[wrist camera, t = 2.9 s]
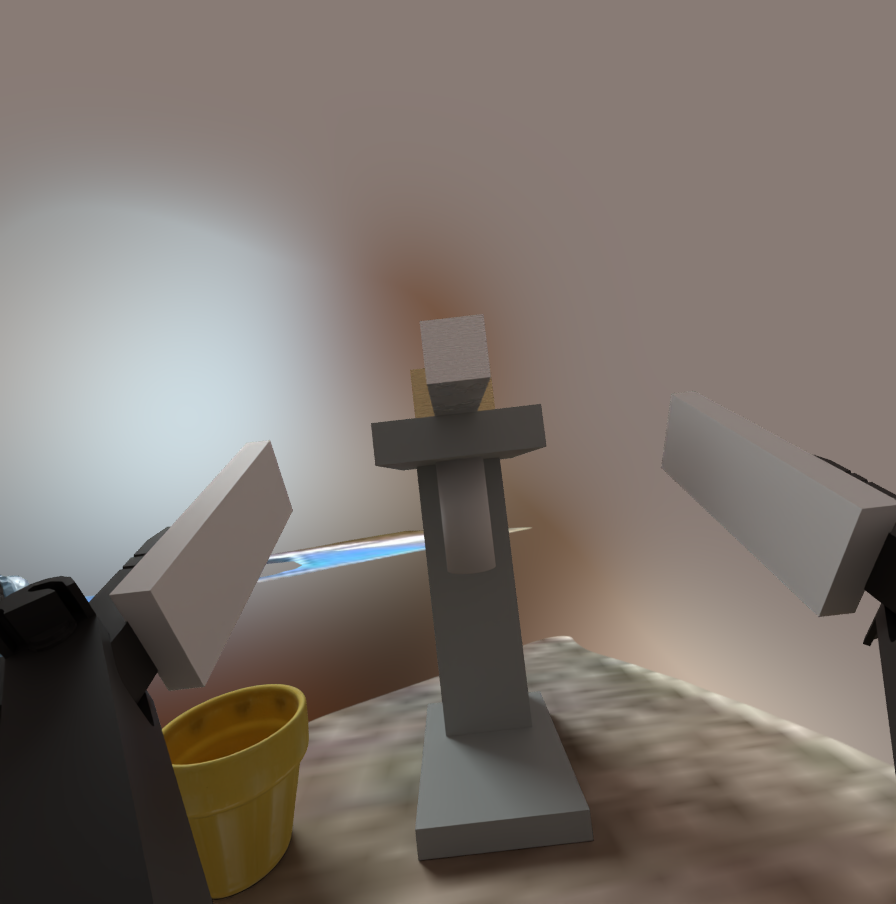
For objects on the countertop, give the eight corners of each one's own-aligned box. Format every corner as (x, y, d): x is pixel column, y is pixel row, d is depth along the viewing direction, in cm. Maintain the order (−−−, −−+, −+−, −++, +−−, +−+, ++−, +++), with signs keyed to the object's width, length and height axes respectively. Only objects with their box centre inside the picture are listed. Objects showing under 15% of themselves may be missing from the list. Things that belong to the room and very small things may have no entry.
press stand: (417, 874, 28) (371, 423, 29) (430, 723, 45) (400, 443, 46) (598, 853, 28) (541, 404, 29) (542, 710, 45) (508, 431, 46)
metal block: (394, 388, 20) (385, 304, 20) (422, 433, 39) (418, 391, 40) (522, 373, 20) (512, 289, 20) (486, 426, 39) (481, 384, 40)
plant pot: (237, 955, 24) (223, 776, 25) (119, 908, 28) (110, 753, 28) (344, 813, 34) (333, 687, 34) (246, 792, 37) (238, 679, 38)
